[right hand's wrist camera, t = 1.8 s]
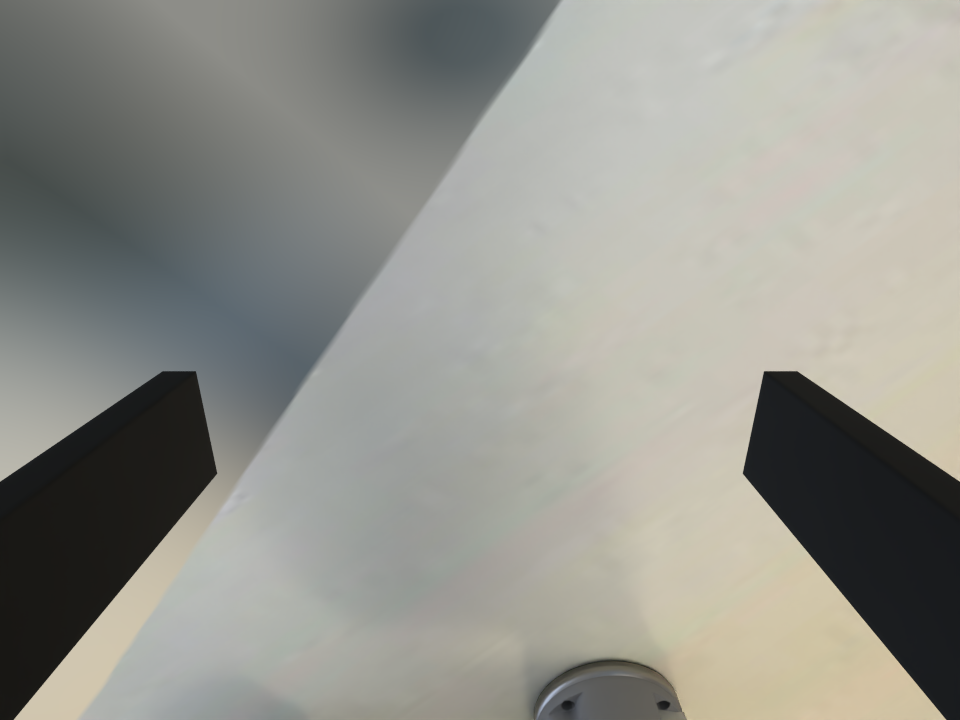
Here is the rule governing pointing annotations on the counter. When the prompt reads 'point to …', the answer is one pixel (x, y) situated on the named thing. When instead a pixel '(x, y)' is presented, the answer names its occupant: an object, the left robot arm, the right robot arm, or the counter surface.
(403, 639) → the counter surface
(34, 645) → the right robot arm
